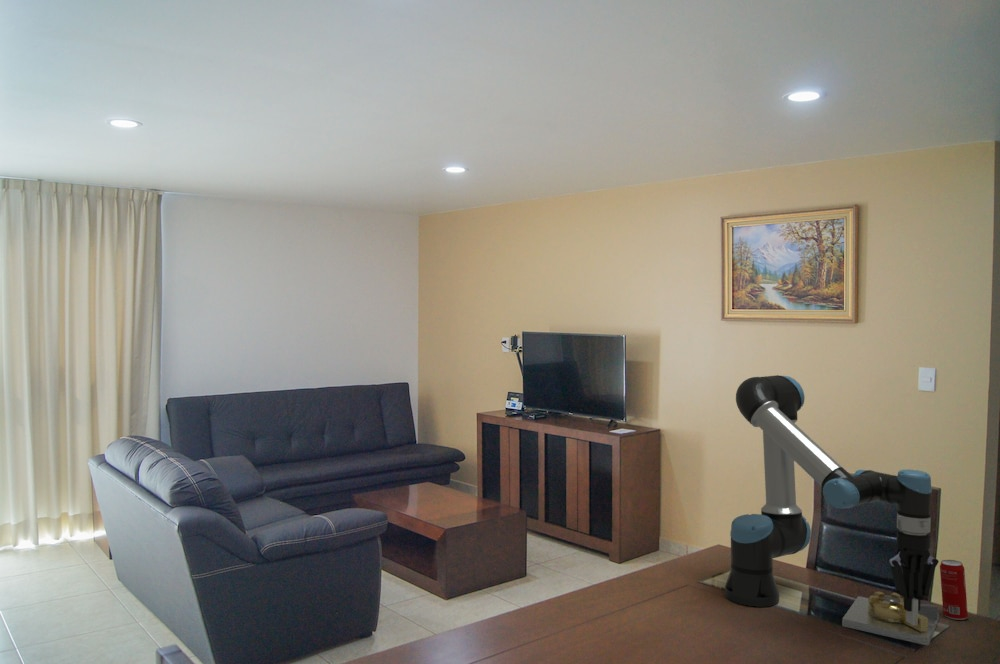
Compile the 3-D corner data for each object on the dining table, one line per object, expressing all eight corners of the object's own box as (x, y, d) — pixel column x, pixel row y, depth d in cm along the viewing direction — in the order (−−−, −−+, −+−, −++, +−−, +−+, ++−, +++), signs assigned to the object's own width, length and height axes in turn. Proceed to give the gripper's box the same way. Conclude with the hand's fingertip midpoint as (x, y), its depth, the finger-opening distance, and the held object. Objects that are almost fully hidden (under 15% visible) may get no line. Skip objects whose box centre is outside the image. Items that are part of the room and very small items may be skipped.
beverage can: (971, 621, 197) (971, 566, 197) (944, 619, 198) (945, 564, 198) (962, 613, 203) (962, 559, 203) (936, 611, 204) (936, 558, 204)
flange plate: (842, 626, 195) (842, 605, 195) (858, 603, 211) (858, 584, 211) (930, 646, 182) (930, 624, 182) (940, 620, 198) (940, 600, 198)
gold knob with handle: (858, 608, 200) (858, 592, 200) (892, 604, 203) (892, 589, 203) (906, 633, 185) (906, 616, 184) (941, 628, 187) (942, 611, 187)
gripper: (900, 536, 183) (898, 630, 183) (947, 535, 184) (945, 628, 185) (880, 528, 190) (879, 618, 190) (925, 526, 192) (924, 616, 192)
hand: (911, 623), depth 187 cm, fingers closed
